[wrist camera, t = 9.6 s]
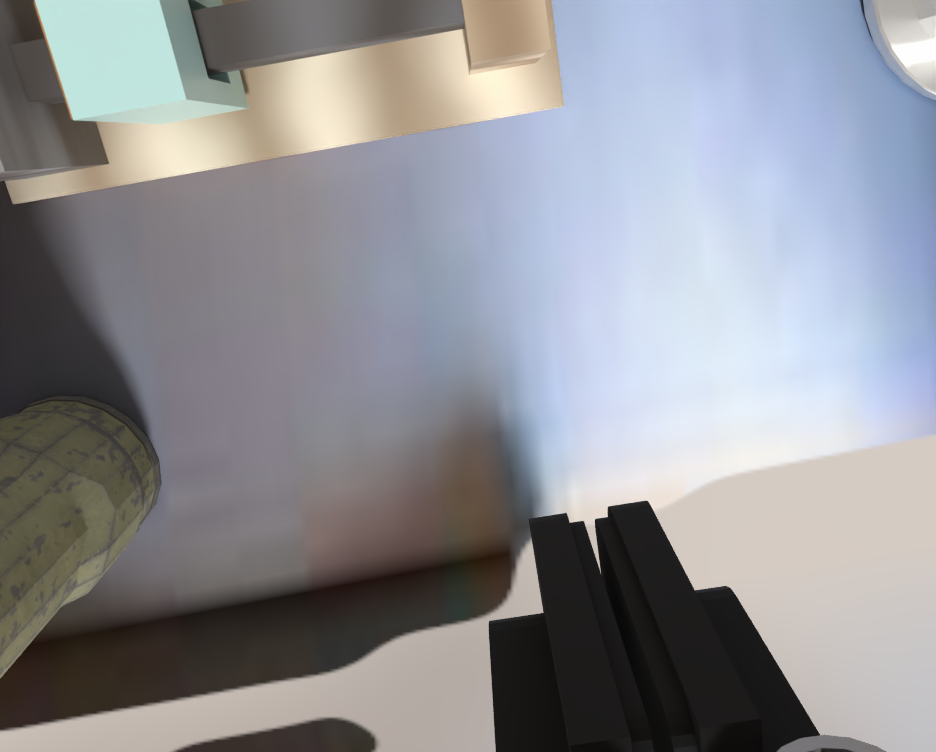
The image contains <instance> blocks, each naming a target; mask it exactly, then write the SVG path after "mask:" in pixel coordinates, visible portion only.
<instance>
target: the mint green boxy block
mask: <svg viewBox="0 0 936 752" xmlns="http://www.w3.org/2000/svg"><path fill="white" fill-rule="evenodd" d="M35 3H36V6H37V9H38V12H39V15H40V18H41V22H42V25H43V28H44V31H45V34H46V37H47V40H48V43H49V46H50V50H51V53H52V56H53V59H54V62H55V65H56V68H57V71H58V74H59V77H60V81H61V84H62V87H63V90H64V93H65V96H66V99H67V102H68V105H69V109H70V112H71V115H72V118H73V120H78V121H99V122H120V123H141V124H166V123H172V122H177V121H183V120H188V119H194V118H199V117H205V116H210V115H216V114H221V113H227V112H232V111H238V110H243V109H249V108H248V104H247V100H246V96H245V92H244V88H243V83H242V79H241V75H240V71H239V70H237V71H232V72H226V73H221V74H215V75H210V76H208V75H207V71H206V68H205V64H204V60H203V56H202V52H201V49H200V45H199V41H198V37H197V33H196V29H195V26H194V22H193V18H192V14H191V11H194V10H199V9H205V8H210V7H215V6H221V5H223V3H222V0H35Z"/></svg>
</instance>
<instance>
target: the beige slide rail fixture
mask: <svg viewBox="0 0 936 752" xmlns="http://www.w3.org/2000/svg"><path fill="white" fill-rule="evenodd" d="M222 3H223V5H221V6H215V7H210V8H205V9H199V10H194V11H191V14H192V18H193V22H194V26H195V29H196V33H197V37H198V41H199V45H200V49H201V52H202V56H203V60H204V64H205V68H206V71H207V75H208V76H210V75H215V74H221V73H226V72H232V71H237V70H239V71H240V75H241V79H242V83H243V88H244V92H245V96H246V100H247V104H248V108H249V109H243V110H238V111H232V112H227V113H221V114H216V115H210V116H205V117H199V118H194V119H188V120H183V121H177V122H172V123H166V124H141V123H120V122H99V121H78V120H73V118H72V115H71V112H70V109H69V105H68V102H67V99H66V96H65V93H64V90H63V87H62V84H61V81H60V77H59V74H58V71H57V68H56V65H55V62H54V59H53V56H52V53H51V50H50V46H49V43H48V40H47V37H46V34H45V31H44V28H43V25H42V22H41V18H40V15H39V12H38V9H37V6H36V3H35V0H0V181H5V183H6V186H7V189H8V192H9V195H10V197H11V200H12V203H13V204H19V203H26V202H32V201H37V200H43V199H49V198H54V197H60V196H65V195H71V194H77V193H82V192H88V191H93V190H99V189H105V188H110V187H116V186H121V185H127V184H133V183H138V182H144V181H150V180H155V179H161V178H166V177H172V176H178V175H183V174H189V173H194V172H200V171H206V170H211V169H217V168H223V167H228V166H234V165H239V164H245V163H251V162H256V161H262V160H267V159H273V158H279V157H284V156H290V155H295V154H301V153H307V152H312V151H318V150H324V149H329V148H335V147H340V146H346V145H352V144H357V143H363V142H368V141H374V140H380V139H385V138H391V137H396V136H402V135H408V134H413V133H419V132H425V131H430V130H436V129H441V128H447V127H453V126H458V125H464V124H469V123H475V122H481V121H486V120H492V119H497V118H503V117H509V116H514V115H520V114H526V113H531V112H537V111H542V110H548V109H554V108H559V107H563V106H564V103H563V95H562V86H561V78H560V70H559V61H558V53H557V44H556V36H555V27H554V19H553V10H552V2H551V0H222Z"/></svg>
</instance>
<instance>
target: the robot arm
mask: <svg viewBox="0 0 936 752" xmlns="http://www.w3.org/2000/svg"><path fill="white" fill-rule="evenodd" d="M863 4H864V12H865V18H866V21H867V24H868V27H869V30H870V33H871V36H872V39H873V42H874V44H875V45H876V47H877V49H878V50H879V52H880V54H881V56H882V57H883V59H884V61H885V62H886V64H887V65H888V66H889V67H890V68H891V70H892V71H893V72H894V73H895V74H896V75H897V76H898V77H899V78H900V79H901V80H902V81H903V82H904V83H905V84H907V85H908V86H910V87H911V88H913V89H914V90H916V91H917V92H919V93H920V94H922V95H923V96H926V97H928V98H931V99H934V100H936V0H863ZM529 524H530V530H531V537H532V543H533V549H534V555H535V561H536V568H537V574H538V580H539V587H540V592H541V599H542V605H543V612H544V613H541V614H534V615H528V616H521V617H514V618H507V619H500V620H494V621H489V641H490V659H491V675H492V692H493V709H494V726H495V744H496V752H886V751H884V750H882V749H880V748H879V747H877V746H874V745H871V744H868V743H865V742H861V741H858V740H855V739H852V738H847V737H838V736H829V735H820V734H819V732H818V731H817V729H816V727H815V726H814V724H813V723H812V721H811V719H810V717H809V716H808V714H807V713H806V711H805V709H804V708H803V706H802V704H801V703H800V701H799V699H798V698H797V696H796V694H795V693H794V691H793V690H792V688H791V686H790V684H789V683H788V681H787V679H786V678H785V676H784V674H783V673H782V671H781V669H780V668H779V666H778V665H777V663H776V661H775V660H774V658H773V656H772V655H771V653H770V651H769V650H768V648H767V646H766V645H765V643H764V641H763V640H762V638H761V636H760V635H759V633H758V631H757V630H756V628H755V627H754V625H753V623H752V621H751V620H750V618H749V617H748V615H747V613H746V612H745V610H744V608H743V607H742V605H741V603H740V602H739V600H738V598H737V597H736V595H735V594H734V592H733V591H732V590H731V588H729V587H727V586H723V587H716V588H709V589H703V590H696V591H695V590H694V589H693V587H692V584H691V583H690V581H689V579H688V577H687V575H686V573H685V571H684V569H683V567H682V565H681V563H680V561H679V559H678V557H677V556H676V554H675V552H674V550H673V548H672V546H671V544H670V542H669V540H668V538H667V536H666V534H665V532H664V531H663V529H662V527H661V525H660V523H659V521H658V519H657V517H656V515H655V513H654V511H653V509H652V507H651V505H650V504H649V502H648V501H641V502H635V503H628V504H622V505H615V506H609V507H608V517H606V518H599V519H595V528H596V536H597V545H598V552H599V560H600V568H601V573H600V570H599V567H598V564H597V561H596V557H595V554H594V551H593V548H592V545H591V542H590V539H589V536H588V533H587V530H586V527H585V524H584V521H579V522H573V523H569V519H568V516H567V513H564V514H557V515H551V516H544V517H538V518H531V519H529Z"/></svg>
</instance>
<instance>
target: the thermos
mask: <svg viewBox="0 0 936 752" xmlns="http://www.w3.org/2000/svg"><path fill="white" fill-rule="evenodd" d="M160 487H161V476H160V466H159V460H158V458H157V456H156V453H155V451H154V449H153V447H152V445H151V442H150V440H149V438H148V437H147V436H146V435H145V434H144V433H143V432H142V431H141V429H140V428H139V427H138V426H137V425H136V424H135V423H134V421H133V420H132V419H130V418H129V417H127V416H126V415H124V414H123V413H121V412H120V411H118V410H117V409H115V408H114V407H112V406H110V405H109V404H106V403H103V402H99V401H96V400H93V399H90V398H87V397H84V396H58V395H57V396H54V397H50V398H47V399H43V400H39V401H36V402H33V403H31V404H30V405H28V406H27V407H25V408H24V409H22V410H21V411H20V412H18V413H17V414H14V415H10V416H7V417H3V418H1V419H0V678H1V677H2V676H3V675H4V673H5V672H6V671H7V670H8V669H9V668H10V666H11V665H12V664H13V663H14V662H15V660H16V659H17V658H18V657H19V656H20V655H21V653H22V652H23V651H24V650H25V649H26V648H27V646H28V645H29V644H30V643H31V642H32V641H33V639H34V638H35V637H36V636H37V635H38V633H39V632H40V631H41V630H42V629H43V628H44V626H45V625H46V624H47V623H48V622H49V621H50V619H51V618H52V617H53V616H54V615H55V614H56V612H57V611H58V610H59V609H60V608H61V607H62V606H64V605H66V604H68V603H70V602H72V601H74V600H76V599H78V598H80V597H82V596H84V595H86V594H88V593H89V592H90V591H91V589H92V588H93V587H94V586H95V584H96V583H97V582H98V581H99V580H100V578H101V577H102V576H103V575H104V573H105V572H106V571H107V570H108V569H109V567H110V566H111V565H112V564H113V562H114V561H115V560H116V559H117V558H118V556H119V555H120V554H121V553H122V551H123V550H124V549H125V548H126V546H127V545H128V544H129V542H130V541H131V539H132V538H133V537H134V535H135V534H136V533H137V531H138V530H139V526H140V525H141V524H142V522H143V521H144V520H145V518H146V517H147V516H148V514H149V513H150V512H151V510H152V509H153V507H154V506H155V505H156V502H157V498H158V494H159V490H160Z"/></svg>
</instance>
